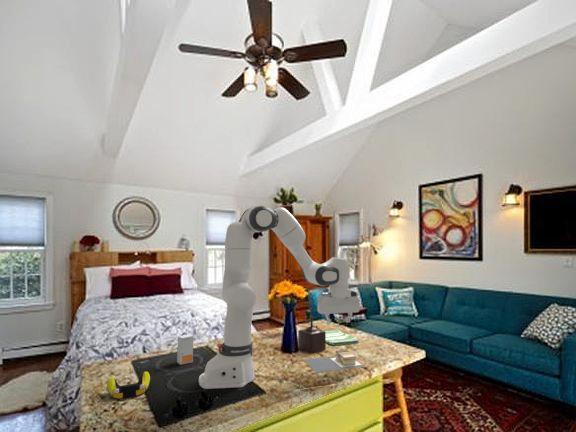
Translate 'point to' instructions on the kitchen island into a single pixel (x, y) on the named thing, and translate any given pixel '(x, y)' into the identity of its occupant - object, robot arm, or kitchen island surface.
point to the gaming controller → (128, 387)
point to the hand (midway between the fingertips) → (338, 322)
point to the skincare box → (185, 349)
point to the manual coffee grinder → (311, 337)
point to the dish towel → (339, 338)
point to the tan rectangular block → (345, 357)
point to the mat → (329, 364)
